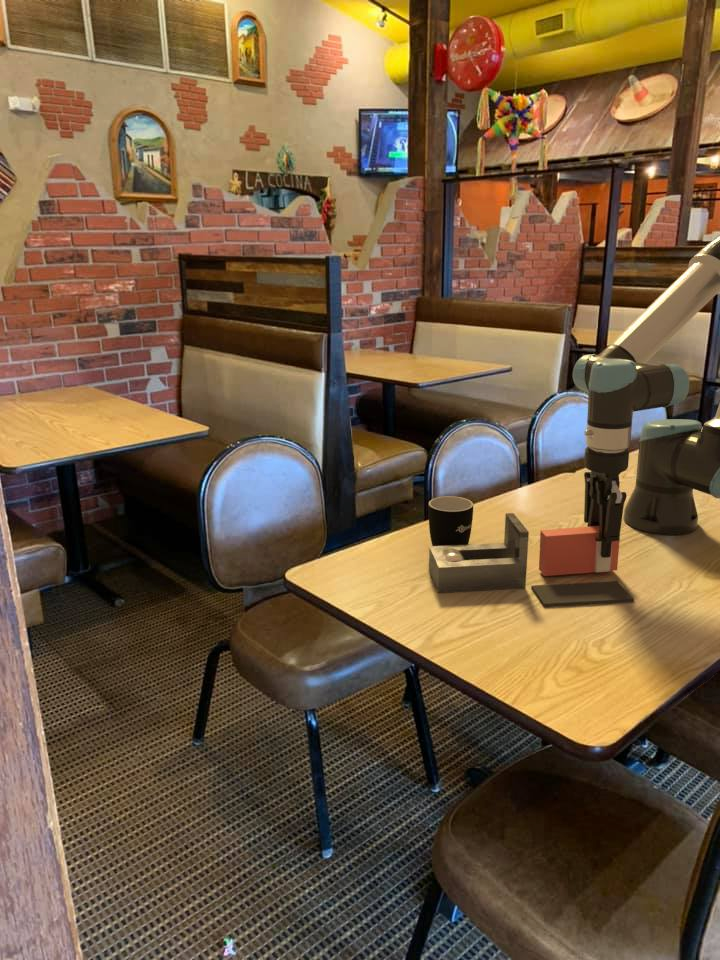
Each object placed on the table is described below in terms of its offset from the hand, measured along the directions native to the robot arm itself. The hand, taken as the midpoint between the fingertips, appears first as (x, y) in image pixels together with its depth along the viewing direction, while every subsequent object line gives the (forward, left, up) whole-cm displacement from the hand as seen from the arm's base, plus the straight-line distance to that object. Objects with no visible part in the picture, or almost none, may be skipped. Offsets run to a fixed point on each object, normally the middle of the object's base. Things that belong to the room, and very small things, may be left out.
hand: (598, 566), depth 136 cm
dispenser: (+23, 0, -1) cm, 23 cm away
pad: (+7, +9, -1) cm, 11 cm away
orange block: (+4, 0, 0) cm, 4 cm away
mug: (+25, -15, -1) cm, 29 cm away
